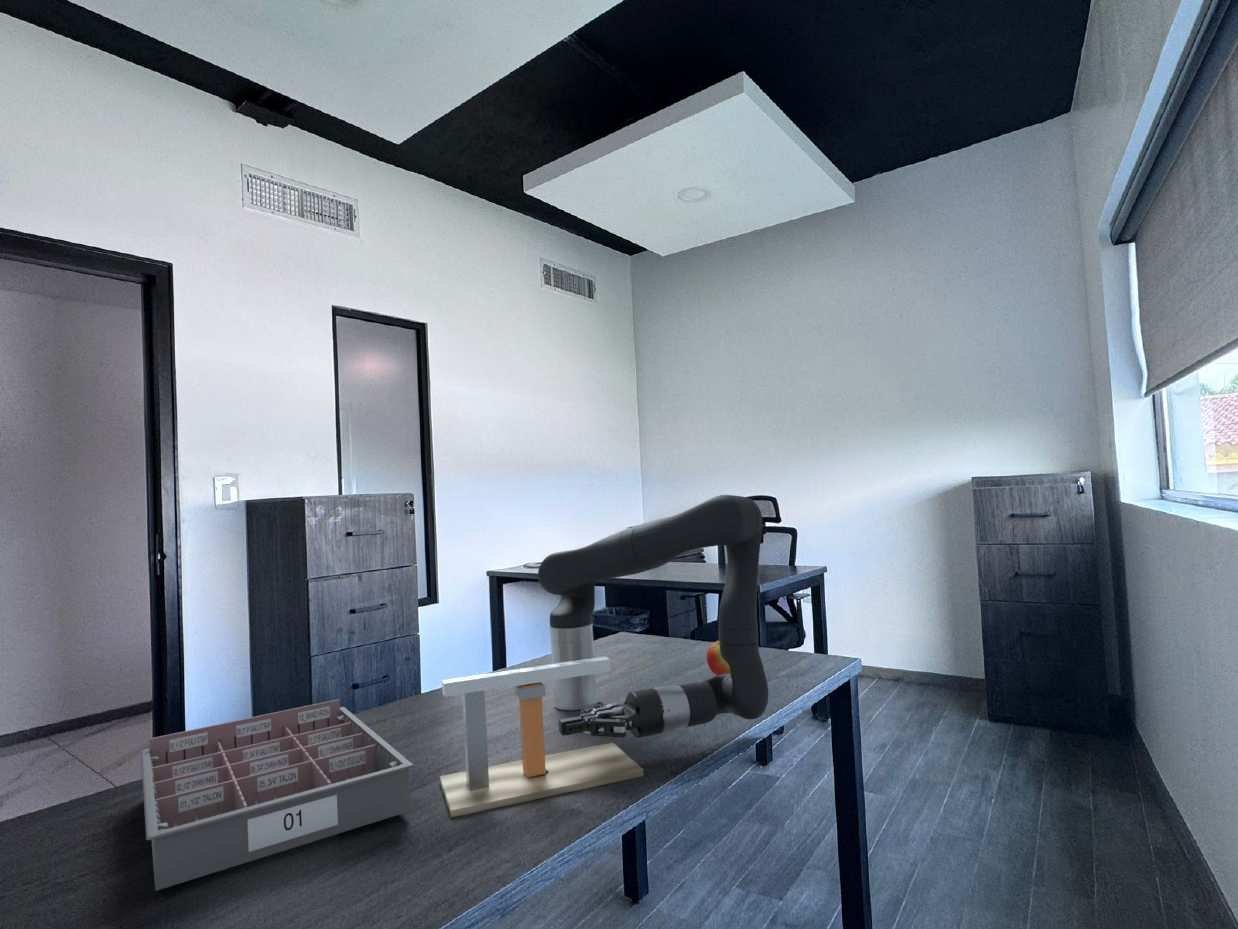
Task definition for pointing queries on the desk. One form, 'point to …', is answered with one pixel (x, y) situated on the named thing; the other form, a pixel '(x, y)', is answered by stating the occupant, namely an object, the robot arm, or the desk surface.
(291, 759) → the organizer tray
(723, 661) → the apple
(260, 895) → the desk surface
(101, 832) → the desk surface
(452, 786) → the board
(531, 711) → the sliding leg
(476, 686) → the bar
